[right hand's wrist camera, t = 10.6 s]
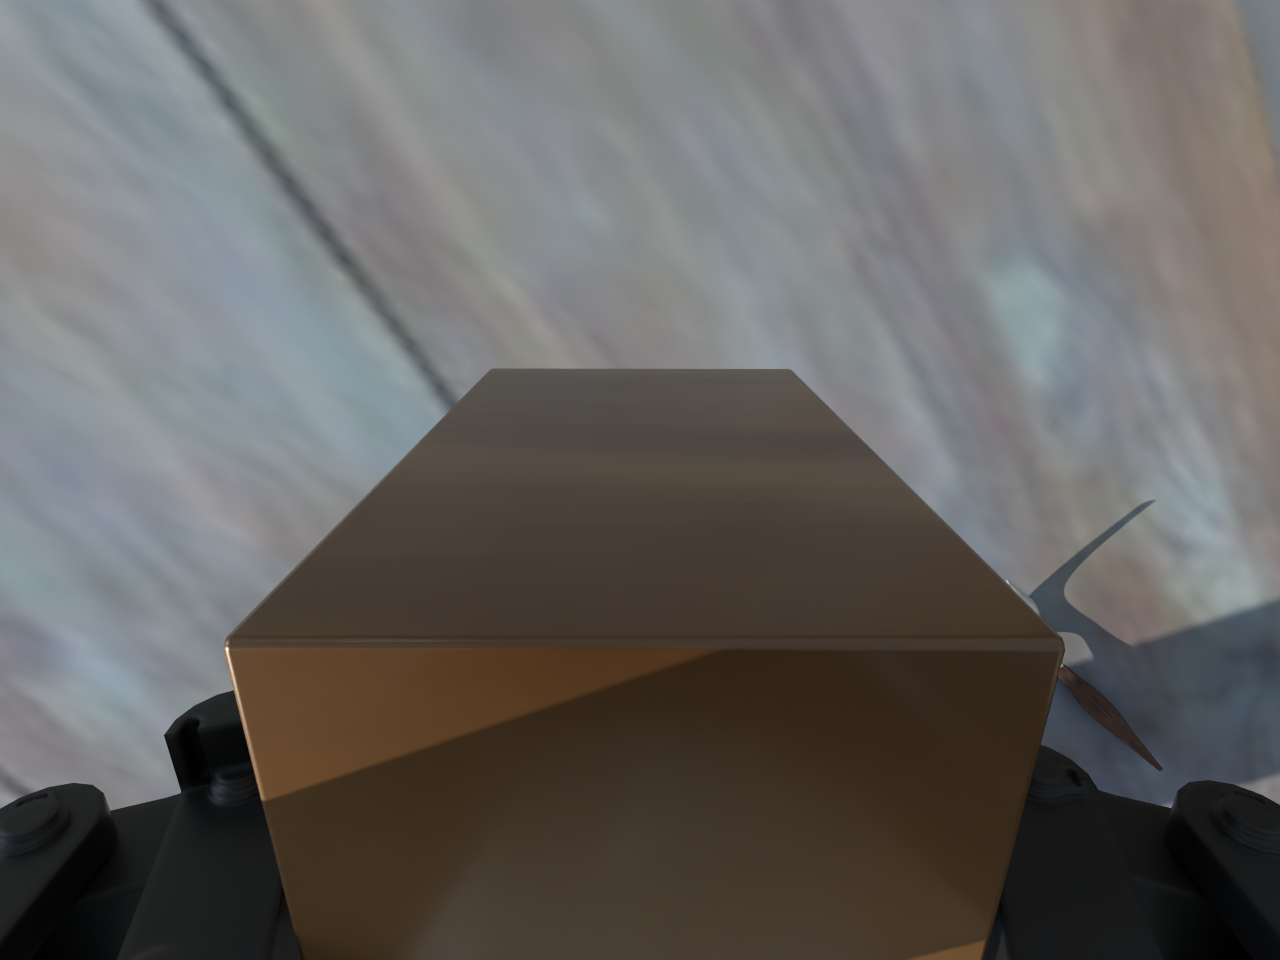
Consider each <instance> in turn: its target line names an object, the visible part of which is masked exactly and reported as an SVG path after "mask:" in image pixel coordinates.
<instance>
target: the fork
mask: <svg viewBox="0 0 1280 960" xmlns="http://www.w3.org/2000/svg"><path fill="white" fill-rule="evenodd" d="M1006 582H1007V583H1008V585H1009V586H1010V587H1011V588H1012V589H1013V590H1014V591H1015V592H1016V593H1017V594H1018V595H1019V596H1020V597H1021V598H1022V599H1023V600H1024V601H1025V602H1026V603H1027V604H1028V605H1029V606H1030V607H1031V608H1032V609H1033V610H1034V611H1035V612H1036V613H1037V614H1038V615H1039V616H1040V612H1039V610H1038V607H1037V605H1036V604H1035V602H1034V601H1033V600H1032V599H1031V598H1030V597H1029V596H1027V595H1026V594H1025V593H1024V592H1022V591H1021V590H1020V589H1019V588H1018V587H1016V586H1015V585H1014V584H1012V583H1011V582H1010V581H1009V580H1006ZM1040 617H1041V616H1040ZM1058 676H1059V677H1060V678H1061V680H1062V681H1063V683H1064V684H1065V685H1066V687H1067V688H1068V689H1069V691H1070V692H1071V693H1072V695H1073V696H1074V697H1075V699H1076V700H1077V701H1078V702H1079V704H1080V705H1081V706H1082V707H1083V708H1084V709H1085V711H1086V712H1087V713H1088V714H1089V715H1090V716H1091V717H1092V718H1094V719H1095V720H1096V721H1097V722H1098V723H1100V724H1101V725H1102V726H1103V727H1105V728H1106V729H1107V730H1109V731H1110V732H1111V733H1112V734H1114V735H1115V736H1116V737H1118V738H1119V739H1120V740H1122V741H1123V742H1124V743H1126V744H1127V745H1128V746H1129V747H1131V748H1132V749H1133V750H1134V751H1136V752H1137V753H1138V754H1139V755H1140V756H1142V757H1143V758H1144V759H1145V760H1147V761H1148V762H1149V763H1150V764H1151V765H1153V766H1154V767H1155V768H1156V769H1158V770H1159V771H1161V770H1162V767H1161V766H1160V765H1159V764H1158V762H1157V761H1156V760H1155V759H1154V757H1153V756H1152V755H1151V754H1150V752H1149V751H1148V750H1147V749H1146V747H1145V746H1144V745H1143V744H1142V742H1141V741H1140V740H1139V738H1138V737H1137V736H1136V735H1135V733H1134V732H1133V731H1132V729H1131V728H1130V726H1129V725H1128V724H1127V722H1126V721H1125V720H1124V718H1123V717H1122V716H1121V714H1120V713H1119V712H1118V711H1117V709H1116V708H1115V707H1114V706H1113V705H1112V704H1111V703H1110V702H1109V701H1108V700H1107V699H1106V698H1105V697H1104V696H1103V695H1102V694H1101V693H1100V692H1098V691H1097V690H1096V689H1095V688H1094V687H1092V686H1091V685H1090V684H1088V683H1087V682H1086V681H1085V680H1083V679H1082V678H1081V677H1079V676H1078V675H1077V674H1075V673H1074V672H1073V671H1072V670H1070V669H1069V668H1068V667H1066V666H1065V665H1064V664H1063V663H1062V664H1061V667H1060V671H1059V675H1058Z"/></svg>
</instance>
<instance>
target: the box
mask: <svg viewBox="0 0 1280 960" xmlns="http://www.w3.org/2000/svg"><path fill="white" fill-rule="evenodd" d="M1064 652H1065V646H1064V642H1063V639H1062V637H1061V636H1060V635H1059V634H1058V633H1057V632H1055V631H1054V630H1053V629H1052V628H1051V627H1050V626H1049V625H1048V624H1047V623H1046V622H1045V621H1044V620H1043V619H1042V618H1041V617H1040V616H1039V615H1038V614H1037V613H1036V612H1035V611H1034V610H1033V609H1032V608H1031V607H1030V606H1029V605H1028V604H1027V603H1026V602H1025V601H1024V600H1023V599H1022V598H1021V597H1020V596H1019V595H1018V594H1017V593H1016V592H1015V591H1014V590H1013V589H1012V588H1011V587H1010V586H1009V585H1008V584H1007V583H1006V582H1005V581H1004V580H1003V579H1002V578H1001V577H1000V576H999V575H998V574H997V573H996V572H995V571H994V570H993V569H992V568H991V567H990V566H989V565H988V564H987V563H986V562H985V561H984V560H983V559H982V558H981V557H980V556H979V555H978V554H977V553H976V552H975V551H974V550H973V549H972V548H971V547H970V546H969V545H968V544H967V543H966V542H965V541H964V540H963V539H962V538H961V537H960V536H959V535H957V534H956V533H955V532H954V531H953V530H952V529H951V528H950V527H949V526H948V525H947V524H946V523H945V522H944V521H943V520H942V519H941V518H940V517H939V516H938V515H937V514H936V513H935V512H934V511H933V510H932V509H931V508H930V507H929V506H928V505H927V504H926V503H925V502H924V501H923V500H922V499H921V498H920V497H919V496H918V495H917V494H916V493H915V492H914V491H913V490H912V489H911V488H910V487H909V486H908V485H907V484H906V483H905V482H904V481H903V480H902V479H901V478H900V477H899V476H898V475H897V474H896V473H895V472H894V471H893V470H892V469H891V468H890V467H889V466H888V465H887V464H886V463H885V462H884V461H883V460H882V459H881V458H880V457H879V456H878V455H877V454H876V453H875V452H874V451H873V450H872V449H871V448H870V447H869V446H868V445H867V444H866V443H865V442H864V441H863V440H862V439H861V438H860V437H858V436H857V435H856V434H855V433H854V432H853V431H852V430H851V429H850V428H849V427H848V426H847V425H846V424H845V423H844V422H843V421H842V420H841V419H840V418H839V417H838V416H837V415H836V414H835V413H834V412H833V411H832V410H831V409H830V408H829V407H828V406H827V405H826V404H825V403H824V402H823V401H822V400H821V399H820V398H819V397H818V396H817V395H816V394H815V393H814V392H813V391H812V390H811V389H810V388H809V387H808V386H807V385H806V384H805V383H804V382H803V381H802V380H801V379H800V378H799V377H798V376H797V375H796V374H795V373H794V372H793V371H792V370H789V369H491V370H489V371H488V372H487V373H486V374H485V375H484V377H483V378H482V379H481V380H480V381H479V382H478V383H477V384H476V385H475V386H474V387H473V388H472V389H471V390H470V391H469V392H468V393H467V394H466V395H465V396H464V397H463V398H462V399H461V400H460V401H459V402H458V403H457V404H456V405H455V406H454V407H453V408H452V409H451V410H450V411H449V412H448V413H447V414H446V415H445V416H444V417H443V418H442V419H441V420H440V421H439V422H438V423H437V424H436V425H435V426H434V427H433V428H432V429H431V430H430V431H429V432H428V433H427V434H426V435H425V436H424V437H423V438H422V439H421V440H420V441H419V442H418V443H417V444H416V445H415V447H414V448H413V449H412V450H411V451H410V452H409V453H408V454H407V455H406V456H405V457H404V458H403V459H402V460H401V461H400V462H399V463H398V464H397V465H396V466H395V467H394V468H393V469H392V470H391V471H390V472H389V473H388V474H387V475H386V476H385V477H384V478H383V479H382V480H381V481H380V482H379V483H378V484H377V485H376V486H375V487H374V488H373V489H372V490H371V491H370V492H369V493H368V494H367V495H366V496H365V497H364V498H363V499H362V500H361V501H360V502H359V503H358V504H357V505H356V506H355V507H354V508H353V509H352V510H351V511H350V512H349V513H348V514H347V515H346V517H345V518H344V519H343V520H342V521H341V522H340V523H339V524H338V525H337V526H336V527H335V528H334V529H333V530H332V531H331V532H330V533H329V534H328V535H327V536H326V537H325V538H324V539H323V540H322V541H321V542H320V543H319V544H318V545H317V546H316V547H315V548H314V549H313V550H312V551H311V552H310V553H309V554H308V555H307V556H306V557H305V558H304V559H303V560H302V561H301V562H300V563H299V564H298V565H297V566H296V567H295V568H294V569H293V570H292V571H291V572H290V573H289V574H288V575H287V576H286V577H285V578H284V579H283V580H282V581H281V582H280V583H279V584H278V585H277V587H276V588H275V589H274V590H273V591H272V592H271V593H270V594H269V595H268V596H267V597H266V598H265V599H264V600H263V601H262V602H261V603H260V604H259V605H258V606H257V607H256V608H255V609H254V610H253V611H252V612H251V613H250V614H249V615H248V616H247V617H246V618H245V619H244V620H243V621H242V622H241V623H240V624H239V625H238V626H237V627H236V628H235V629H234V630H233V631H232V632H231V633H230V634H229V635H228V636H227V637H226V640H225V643H224V653H225V657H226V661H227V665H228V669H229V673H230V677H231V681H232V685H233V689H234V693H235V697H236V701H237V705H238V709H239V713H240V717H241V721H242V725H243V729H244V733H245V737H246V741H247V745H248V749H249V753H250V757H251V761H252V765H253V769H254V773H255V777H256V781H257V785H258V789H259V793H260V797H261V801H262V805H263V809H264V813H265V817H266V821H267V825H268V829H269V833H270V837H271V841H272V845H273V849H274V853H275V857H276V861H277V865H278V869H279V873H280V877H281V881H282V885H283V889H284V893H285V897H286V901H287V905H288V909H289V913H290V917H291V921H292V925H293V929H294V933H295V937H296V941H297V945H298V949H299V953H300V957H301V960H984V959H985V955H986V952H987V948H988V944H989V940H990V936H991V932H992V929H993V925H994V921H995V917H996V913H997V909H998V906H999V902H1000V898H1001V894H1002V890H1003V886H1004V882H1005V879H1006V875H1007V871H1008V867H1009V863H1010V859H1011V856H1012V852H1013V848H1014V844H1015V840H1016V836H1017V833H1018V829H1019V825H1020V821H1021V817H1022V813H1023V810H1024V806H1025V802H1026V798H1027V794H1028V790H1029V786H1030V783H1031V779H1032V775H1033V771H1034V767H1035V763H1036V760H1037V756H1038V752H1039V748H1040V744H1041V740H1042V737H1043V733H1044V729H1045V725H1046V721H1047V717H1048V714H1049V710H1050V706H1051V702H1052V698H1053V694H1054V691H1055V687H1056V683H1057V679H1058V675H1059V671H1060V667H1061V664H1062V660H1063V656H1064Z"/></svg>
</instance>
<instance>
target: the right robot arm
mask: <svg viewBox="0 0 1280 960" xmlns="http://www.w3.org/2000/svg"><path fill="white" fill-rule="evenodd" d="M164 737H165V740H166V743H167V746H168V750H169V753H170V756H171V759H172V763H173V766H174V769H175V772H176V775H177V779H178V782H179V785H180V788H181V793H180V794H177V795H174V796H171V797H167V798H163V799H159V800H155V801H150V802H146V803H142V804H138V805H133V806H129V807H125V808H120V809H116V810H112V811H110V809H109V807H108V804H107V801H106V798H105V796H104V793H103V792H101V791H100V790H99V789H97V788H96V787H95V786H93V785H88V784H78V783H70V784H65V785H59V786H53V787H48V788H45V789H42V790H40V791H37V792H34V793H31V794H29V795H26V796H24V797H21V798H19V799H17V800H15V801H13V802H12V803H10V804H8V805H6V806H4V807H3V808H1V809H0V960H301V957H300V953H299V949H298V945H297V941H296V937H295V933H294V929H293V925H292V921H291V917H290V913H289V909H288V905H287V901H286V897H285V893H284V889H283V885H282V881H281V877H280V873H279V869H278V865H277V861H276V857H275V853H274V849H273V845H272V841H271V837H270V833H269V829H268V825H267V821H266V817H265V813H264V809H263V805H262V801H261V797H260V793H259V789H258V785H257V781H256V777H255V773H254V769H253V765H252V761H251V757H250V753H249V749H248V745H247V741H246V737H245V733H244V729H243V725H242V721H241V717H240V713H239V709H238V705H237V701H236V697H235V693H234V690H233V691H230V692H226V693H222V694H219V695H216V696H214V697H212V698H210V699H208V700H206V701H203V702H201V703H199V704H197V705H195V706H193V707H192V708H191V709H189V710H188V711H187V712H185V713H184V714H183V715H181V716H180V717H179V718H177V719H176V720H175V721H174V723H173V724H172V725H171V727H170V728H169V729H168V731H167V732H166V733H165V735H164ZM984 960H1280V805H1279V804H1277V803H1275V802H1274V801H1272V800H1270V799H1268V798H1266V797H1265V796H1263V795H1260V794H1258V793H1255V792H1253V791H1250V790H1247V789H1244V788H1241V787H1239V786H1236V785H1233V784H1227V783H1221V782H1216V781H1210V780H1206V781H1196V782H1189V783H1187V784H1186V785H1185V786H1183V787H1182V788H1181V789H1179V790H1178V792H1177V795H1176V797H1175V800H1174V803H1173V806H1172V808H1168V807H1164V806H1159V805H1155V804H1151V803H1146V802H1142V801H1138V800H1133V799H1129V798H1125V797H1121V796H1116V795H1113V794H1109V793H1106V792H1103V791H1099V790H1098V789H1097V787H1096V785H1095V784H1094V782H1093V781H1092V779H1091V778H1090V776H1089V775H1088V774H1087V773H1086V772H1085V771H1084V770H1083V769H1081V768H1080V767H1079V766H1078V765H1077V764H1076V763H1074V762H1073V761H1072V760H1071V759H1069V758H1067V757H1066V756H1064V755H1062V754H1060V753H1058V752H1056V751H1054V750H1052V749H1051V748H1049V747H1046V746H1042V745H1040V748H1039V752H1038V756H1037V760H1036V763H1035V767H1034V771H1033V775H1032V779H1031V783H1030V786H1029V790H1028V794H1027V798H1026V802H1025V806H1024V810H1023V813H1022V817H1021V821H1020V825H1019V829H1018V833H1017V836H1016V840H1015V844H1014V848H1013V852H1012V856H1011V859H1010V863H1009V867H1008V871H1007V875H1006V879H1005V882H1004V886H1003V890H1002V894H1001V898H1000V902H999V906H998V909H997V913H996V917H995V921H994V925H993V929H992V932H991V936H990V940H989V944H988V948H987V952H986V955H985V959H984Z"/></svg>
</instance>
